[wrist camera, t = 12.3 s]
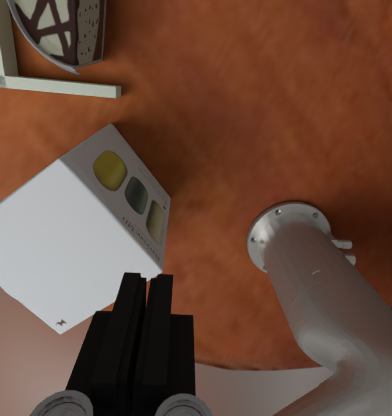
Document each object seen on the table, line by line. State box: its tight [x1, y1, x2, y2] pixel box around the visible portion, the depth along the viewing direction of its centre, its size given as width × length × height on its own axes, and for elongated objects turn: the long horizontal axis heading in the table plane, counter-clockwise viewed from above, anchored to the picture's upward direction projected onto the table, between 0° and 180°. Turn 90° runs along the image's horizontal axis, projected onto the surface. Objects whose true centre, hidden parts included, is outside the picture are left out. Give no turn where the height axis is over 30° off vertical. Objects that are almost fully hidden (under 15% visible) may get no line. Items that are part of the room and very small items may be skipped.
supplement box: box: [0, 123, 171, 334], centre depth 33 cm, size 13×13×18 cm
